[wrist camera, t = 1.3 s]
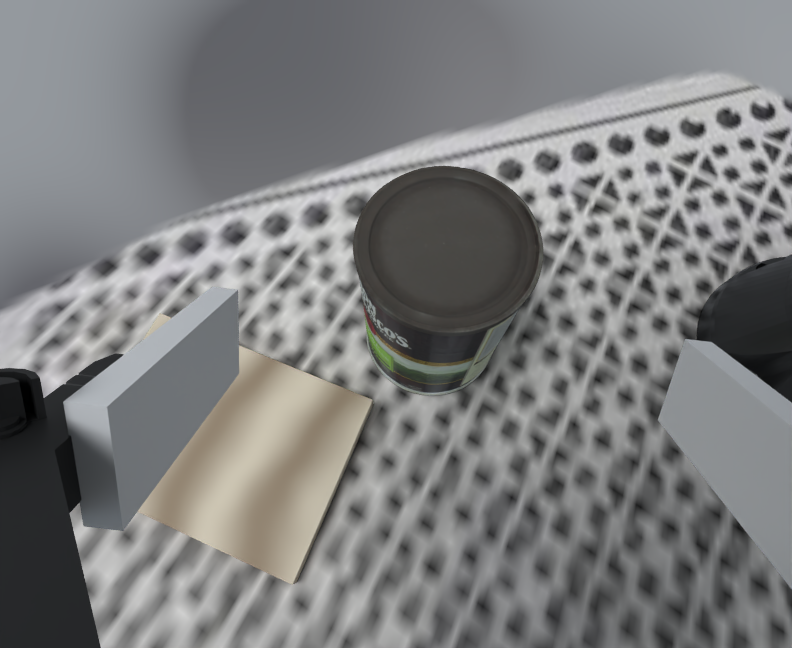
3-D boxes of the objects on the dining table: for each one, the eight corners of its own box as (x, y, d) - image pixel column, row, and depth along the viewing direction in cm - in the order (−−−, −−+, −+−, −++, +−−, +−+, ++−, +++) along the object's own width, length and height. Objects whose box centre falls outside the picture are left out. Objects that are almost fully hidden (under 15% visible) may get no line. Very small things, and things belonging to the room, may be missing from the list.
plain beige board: (373, 404, 38) (372, 399, 37) (296, 582, 34) (292, 584, 33) (167, 320, 41) (159, 313, 39) (71, 475, 36) (58, 473, 35)
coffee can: (398, 418, 38) (400, 362, 25) (347, 303, 42) (324, 201, 28) (519, 365, 40) (580, 286, 26) (460, 258, 43) (488, 141, 30)
